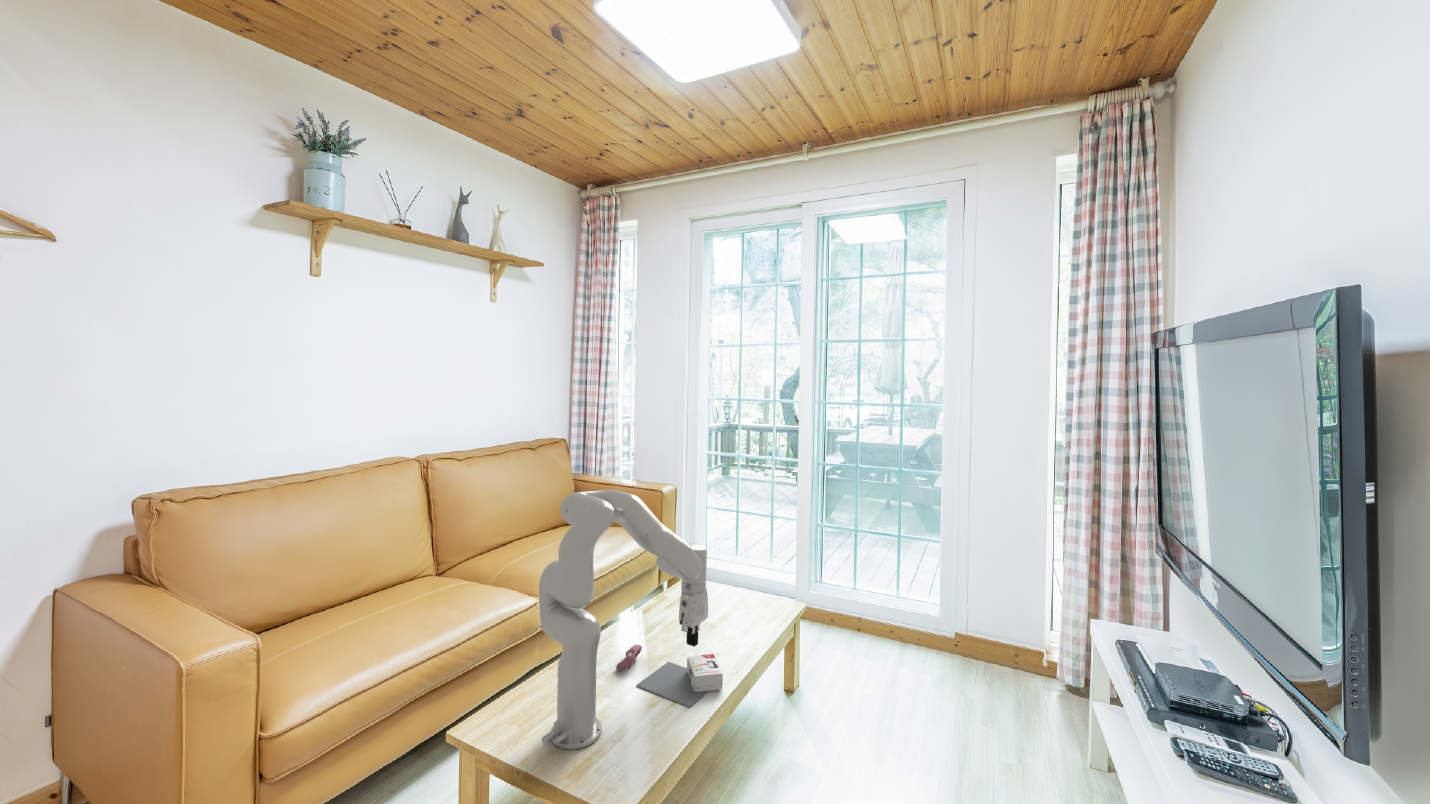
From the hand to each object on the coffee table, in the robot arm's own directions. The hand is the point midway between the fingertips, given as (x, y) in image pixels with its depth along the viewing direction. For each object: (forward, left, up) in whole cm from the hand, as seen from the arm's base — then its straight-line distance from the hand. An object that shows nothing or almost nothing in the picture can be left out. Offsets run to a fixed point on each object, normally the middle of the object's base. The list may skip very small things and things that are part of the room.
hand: (692, 644), depth 169 cm
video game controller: (-7, +19, -9) cm, 22 cm away
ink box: (+3, -1, -6) cm, 7 cm away
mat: (-7, 0, -9) cm, 11 cm away
